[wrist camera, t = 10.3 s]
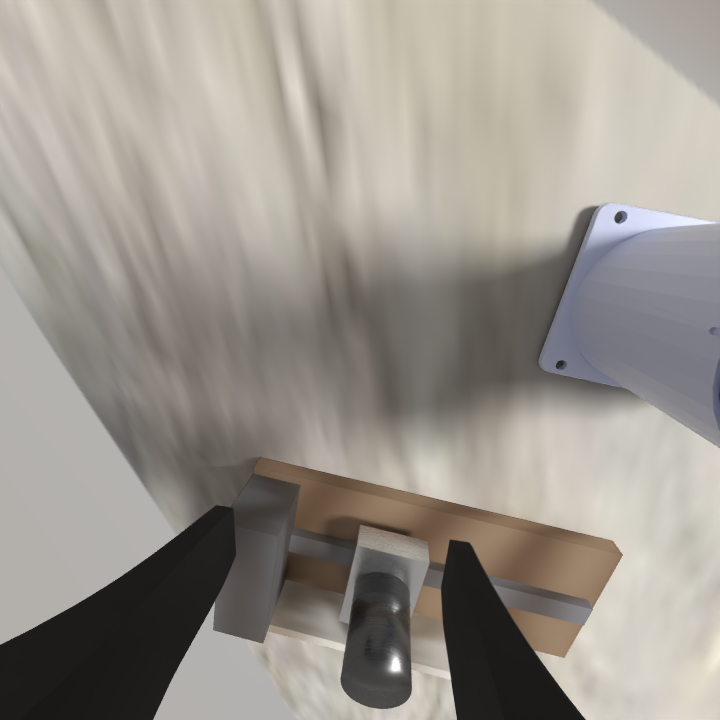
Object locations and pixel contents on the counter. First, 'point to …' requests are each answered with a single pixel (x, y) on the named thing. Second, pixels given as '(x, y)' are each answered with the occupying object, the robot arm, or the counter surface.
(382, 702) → the gauge slider
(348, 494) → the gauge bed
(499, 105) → the counter surface
